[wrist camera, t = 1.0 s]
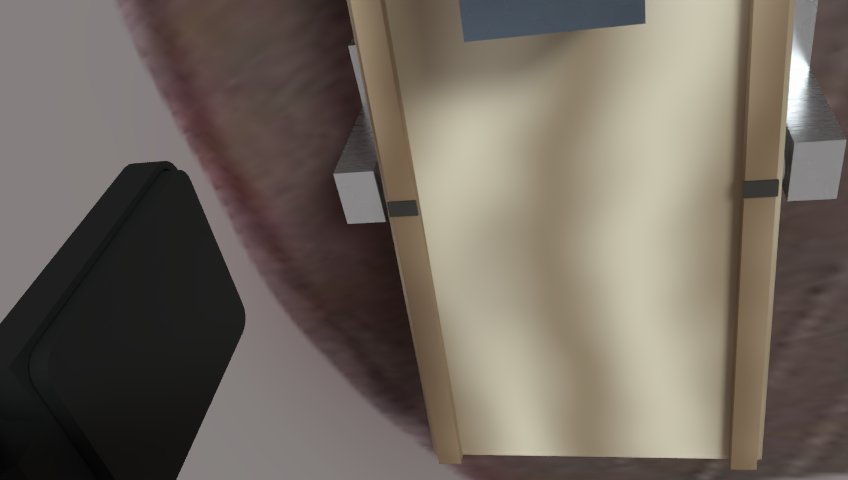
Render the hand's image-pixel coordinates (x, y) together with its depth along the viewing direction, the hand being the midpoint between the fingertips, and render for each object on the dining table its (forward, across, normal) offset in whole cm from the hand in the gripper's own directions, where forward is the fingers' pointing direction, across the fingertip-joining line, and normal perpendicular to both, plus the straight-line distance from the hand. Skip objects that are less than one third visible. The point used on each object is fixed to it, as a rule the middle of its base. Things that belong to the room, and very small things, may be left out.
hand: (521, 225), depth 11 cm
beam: (+21, 0, +11) cm, 24 cm away
